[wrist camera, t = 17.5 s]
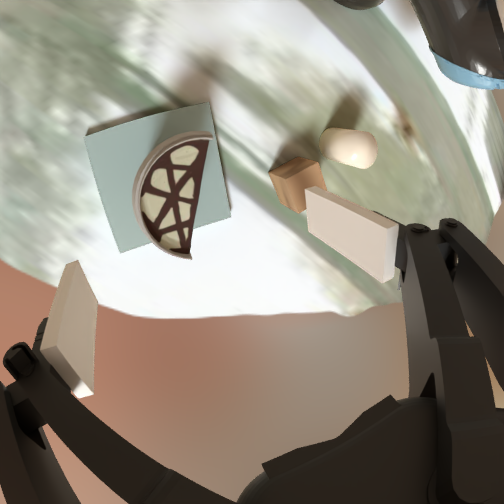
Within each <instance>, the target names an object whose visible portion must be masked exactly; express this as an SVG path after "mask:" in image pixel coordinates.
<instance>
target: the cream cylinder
mask: <svg viewBox="0 0 504 504" xmlns="http://www.w3.org/2000/svg"><path fill="white" fill-rule="evenodd" d="M319 148H320V151H321V153H322V155H323V156H324V157H325V158H326V159H329V160H332V161H336V162H340V163H344V164H347V165H351V166H354V167H358V168H361V169H365V168H368V167H370V166H371V165H372V164H373V163H374V161H375V159H376V157H377V152H378V147H377V142H376V139H375V138H374V136H373V135H372V134H371V133H369V132H364V131H357V130H350V129H342V128H333V127H332V128H328V129H326V130H325V131H324V132H323V133H322V135H321V137H320V140H319Z"/></svg>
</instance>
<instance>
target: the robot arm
mask: <svg viewBox="0 0 504 504" xmlns="http://www.w3.org/2000/svg"><path fill="white" fill-rule="evenodd" d="M334 1H336V2H337V3H339V4H341V5H343V6H345V7H348V8H351V9H355V10H365V9H369V8H373V7H376V6H378V5H380V4H381V3H382V2H383V1H385V0H334ZM410 2H411V4H412V6H413V8H414V10H415V12H416V14H417V17H418V19H419V21H420V23H421V26H422V28H423V31H424V33H425V35H426V38H427V40H428V43H429V48H430V50H431V52H432V53H433V55H434V57H435V59H436V62H437V64H438V67H439V69H440V71H441V72H442V73H443V74H444V75H445V76H446V77H448V78H449V79H450V80H452V81H454V82H456V83H459V84H462V85H465V86H469V87H473V88H479V89H488V90H493V89H494V88H497V89H504V0H410ZM305 197H306V208H307V220H308V232H310V233H311V234H313V235H314V236H316V237H317V238H319V239H320V240H322V241H323V242H325V243H326V244H328V245H329V246H330V247H332V248H333V249H335V250H336V251H338V252H339V253H340V254H342V255H343V256H345V257H346V258H348V259H349V260H350V261H352V262H353V263H355V264H356V265H357V266H359V267H360V268H362V269H363V270H364V271H366V272H367V273H369V274H370V275H371V276H373V277H374V278H376V279H377V280H378V281H380V282H381V283H384V282H386V281H388V280H390V279H392V278H394V270H395V266H396V267H397V268H399V269H400V277H399V284H398V290H400V287H401V290H402V298H403V305H404V314H405V322H406V334H407V346H408V361H409V397H408V398H405V399H401V400H397V401H396V400H395V399H394V398H393V397H392V396H391V395H389V396H387V397H386V398H385V399H383V400H382V401H380V402H379V403H377V404H376V405H374V406H373V407H371V408H369V409H368V410H366V411H364V412H363V413H362V414H361V415H360V416H359V417H358V418H357V419H356V420H355V421H354V422H353V423H352V424H351V425H350V426H349V427H348V428H347V429H346V430H345V431H344V432H343V433H342V434H341V435H340V436H338V437H337V438H335V439H332V440H328V441H325V442H321V443H317V444H313V445H309V446H306V447H301V448H297V449H295V450H292V451H290V452H288V453H286V454H284V455H282V456H279V457H277V458H274V459H272V460H270V461H267V462H265V463H262V466H263V469H264V472H263V473H261V474H260V475H259V476H257V477H256V478H255V479H254V480H253V481H252V482H250V483H249V485H248V486H247V487H246V488H245V489H244V491H243V492H242V493H241V495H240V497H239V499H238V500H237V502H233V501H231V500H229V499H227V498H225V497H223V496H221V495H219V494H216V493H214V492H212V491H210V490H208V489H206V488H205V487H203V486H201V485H199V484H197V483H195V482H193V481H191V480H190V479H188V478H186V477H184V476H183V475H181V474H179V473H177V472H176V471H174V470H172V469H168V468H166V467H164V466H163V465H161V464H160V463H158V462H156V461H155V460H154V459H152V458H150V457H149V456H148V455H146V454H145V453H143V452H141V451H140V450H139V449H137V448H136V447H135V446H133V445H132V444H131V443H129V442H128V441H126V440H125V439H124V438H122V437H121V436H120V435H118V434H117V433H116V432H115V431H113V430H112V429H111V428H110V427H108V426H107V425H106V424H105V423H104V422H102V421H101V420H100V419H99V418H98V417H96V416H95V415H94V414H93V413H92V412H91V411H89V410H88V409H87V408H86V407H85V406H84V405H83V404H81V402H79V401H78V400H77V399H76V398H75V397H74V396H73V395H72V394H71V390H72V391H73V393H74V394H75V395H76V396H77V397H78V398H81V397H85V396H89V395H93V394H94V351H95V332H96V319H97V306H98V301H97V299H96V297H95V295H94V293H93V291H92V289H91V287H90V285H89V283H88V281H87V278H86V276H85V274H84V272H83V270H82V268H81V265H80V263H79V261H78V260H77V261H74V262H71V263H68V264H66V266H65V269H64V271H63V274H62V277H61V280H60V283H59V285H58V288H57V292H56V294H55V298H54V301H53V304H52V307H51V310H50V314H49V317H47V318H44V319H43V321H42V322H41V324H40V325H39V327H38V330H37V336H36V338H35V342H34V344H33V348H32V350H31V349H30V347H29V346H28V345H27V344H26V343H25V342H19V343H17V344H15V345H13V346H12V347H11V348H10V349H9V350H8V351H7V352H6V354H5V356H4V358H3V365H4V367H5V368H6V369H7V370H8V371H9V372H10V374H11V375H12V376H13V377H14V379H15V380H16V381H15V382H13V383H12V384H10V385H8V386H7V387H5V386H4V385H3V383H2V382H1V381H0V485H1V488H2V491H3V494H4V497H5V499H6V502H7V504H81V503H80V501H79V500H78V498H77V496H76V494H75V493H74V491H73V490H72V488H71V486H70V484H69V482H68V481H67V479H66V477H65V475H64V473H63V471H62V469H61V467H60V465H59V463H58V461H57V459H56V457H55V455H54V453H53V451H52V448H51V446H50V444H49V442H48V439H47V437H46V435H45V432H44V430H43V428H42V426H44V425H45V424H47V423H48V425H49V426H50V427H51V428H52V429H53V431H54V432H55V433H56V434H57V435H58V437H59V438H60V439H61V440H62V441H63V442H64V443H65V445H66V446H67V447H68V448H69V449H70V450H71V451H72V452H73V453H74V454H75V455H76V456H77V457H78V458H79V459H80V460H81V461H82V462H83V464H84V465H86V466H87V467H88V468H89V469H90V470H91V471H92V472H93V473H94V474H95V475H96V476H97V477H98V478H99V479H100V480H101V481H103V482H104V483H105V484H106V485H107V486H108V487H109V488H110V489H111V490H113V491H114V492H115V493H116V494H117V495H119V496H120V497H121V498H122V499H124V500H125V501H126V502H127V503H128V504H504V408H495V402H494V397H493V390H492V386H491V380H490V376H489V371H488V367H487V363H486V359H487V361H488V363H489V365H490V367H491V369H492V371H493V373H494V375H495V377H496V379H497V381H498V383H499V385H500V386H501V388H502V389H503V391H504V265H503V264H502V263H501V262H500V260H499V259H498V258H497V257H496V256H495V255H494V254H493V253H492V252H491V251H490V250H489V249H488V248H487V247H486V246H485V245H484V244H483V243H482V242H481V241H480V240H479V239H478V238H477V237H476V236H475V235H474V234H473V233H472V232H471V231H470V230H468V229H467V228H466V227H465V226H464V225H463V224H462V223H461V222H459V221H457V220H455V219H453V218H445V219H442V220H440V223H439V229H436V230H431V229H430V228H429V227H427V226H425V225H422V224H417V223H414V224H409V225H407V226H405V225H403V224H401V223H399V222H397V221H395V220H392V219H389V218H388V217H386V216H383V215H382V214H380V213H378V212H375V211H371V210H368V209H366V208H364V207H362V206H360V205H358V204H355V203H353V202H351V201H349V200H347V199H344V198H342V197H340V196H337V195H335V194H333V193H331V192H328V191H326V190H324V189H321V188H319V187H316V186H314V187H311V188H307V189H305ZM457 259H458V264H457ZM465 321H466V323H467V324H468V326H469V328H470V329H471V331H472V333H473V335H474V337H470V336H469V333H468V330H467V326H466V323H465ZM485 357H486V359H485Z"/></svg>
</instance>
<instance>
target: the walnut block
mask: <svg viewBox="0 0 504 504" xmlns="http://www.w3.org/2000/svg"><path fill="white" fill-rule="evenodd" d="M268 173H269V175H270V178H271V180H272V183H273V185H274V188H275V190H276V193H277V195H278V198H279V200H280V203H281V204H283V205H285V206H286V207H288V208H290V209H292V210H293V211H295V212H297V213H298V214H299V213H301V212H302V211H304V210H306V209H307V208H306V197H305V189H307V188H311V187H314V186H316V187H319V188H321V189H324V190H326V191H327V189H326V185H325V182H324V179H323V176H322V172H321V169H320V166H319V163H318V162H316V161H312V160H309V159H305V158H301V157H297V158H295V159H293V160H291V161H289V162H287V163H285V164H283V165H281V166H279V167H277V168H276V169H274V170H272V171H270V172H268Z"/></svg>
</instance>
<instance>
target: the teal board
mask: <svg viewBox="0 0 504 504" xmlns="http://www.w3.org/2000/svg"><path fill="white" fill-rule="evenodd" d="M190 131H208V132H210V133H211V134H212V135H213V137H212V138H214V139H212V140H209V145H208V150H207V155H206V160H205V165H204V170H203V176H202V182H201V188H200V195H199V201H198V206H197V211H196V216H195V221H194V226H193V229H195V228H198V227H201V226H204V225H208V224H211V223H214V222H217V221H220V220H224V219H227V218H230V217H231V213H230V208H229V203H228V198H227V193H226V188H225V183H224V177H223V172H222V167H221V162H220V157H219V152H218V146H217V141H216V136H215V131H214V125H213V120H212V115H211V109H210V104H209V102H206V103H201V104H196V105H192V106H187V107H183V108H178V109H174V110H170V111H166V112H162V113H158V114H154V115H151V116H147V117H143V118H140V119H136V120H133V121H130V122H126V123H123V124H120V125H117V126H114V127H111V128H108V129H105V130H102V131H99V132H96V133H93V134H91V135H88V136H85V137H84V140H85V144H86V148H87V152H88V156H89V160H90V164H91V167H92V171H93V174H94V178H95V181H96V184H97V188H98V191H99V194H100V197H101V201H102V204H103V207H104V210H105V213H106V216H107V219H108V222H109V224H110V227H111V230H112V233H113V236H114V238H115V241H116V244H117V246H118V249H119V252H120V253H123V252H126V251H129V250H131V249H134V248H137V247H140V246H143V245H146V244H149V243H152V242H151V241H150V240H149V239H148V238H147V237H146V235H145V234H144V233H143V231H142V230H141V228H140V227H139V225H138V223H137V221H136V218H135V215H134V211H133V205H132V189H133V184H134V179H135V177H136V174H137V171H138V169H139V167H140V166H141V164H142V162H143V161H144V159H145V158H146V157H147V156H148V154H149V153H150V152H151V151H152V150H153V149H154V148H155V147H157V146H158V145H159V144H160V143H162V142H164V141H165V140H167V139H168V138H171V137H173V136H175V135H178V134H181V133H185V132H190Z"/></svg>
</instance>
